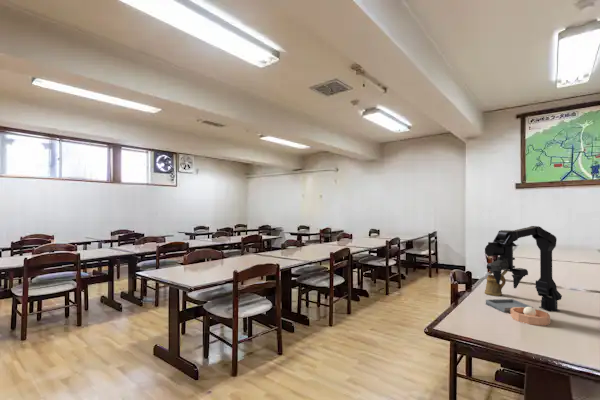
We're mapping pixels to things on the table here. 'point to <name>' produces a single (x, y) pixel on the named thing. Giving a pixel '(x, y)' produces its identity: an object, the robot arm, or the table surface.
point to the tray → (505, 304)
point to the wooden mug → (495, 285)
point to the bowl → (539, 319)
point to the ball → (529, 311)
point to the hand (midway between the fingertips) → (506, 286)
